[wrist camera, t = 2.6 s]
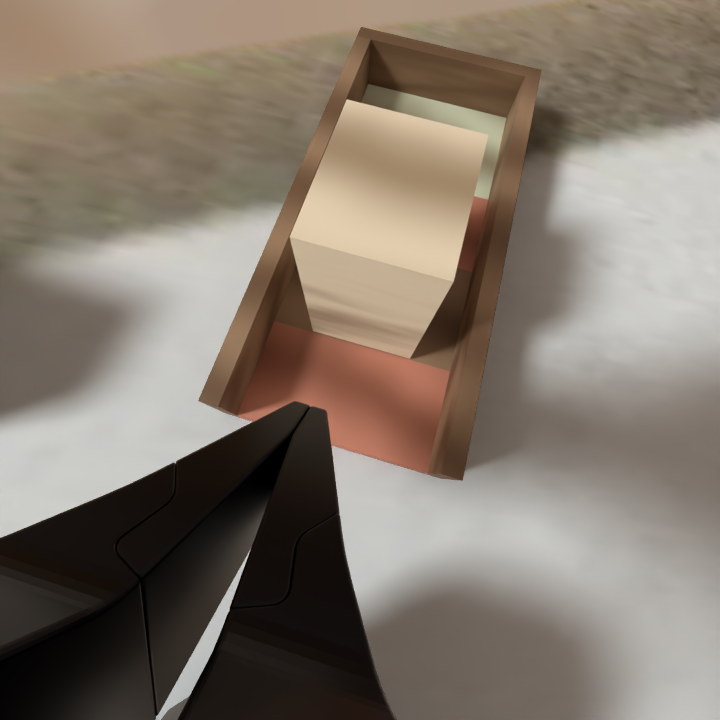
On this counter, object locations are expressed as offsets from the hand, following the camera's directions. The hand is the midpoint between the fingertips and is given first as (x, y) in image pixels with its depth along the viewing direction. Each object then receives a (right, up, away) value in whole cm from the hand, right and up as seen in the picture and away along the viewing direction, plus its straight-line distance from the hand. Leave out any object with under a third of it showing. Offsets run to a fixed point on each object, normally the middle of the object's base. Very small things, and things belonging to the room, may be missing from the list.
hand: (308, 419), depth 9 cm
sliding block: (+2, +6, +13) cm, 15 cm away
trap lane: (+4, +9, +16) cm, 19 cm away
